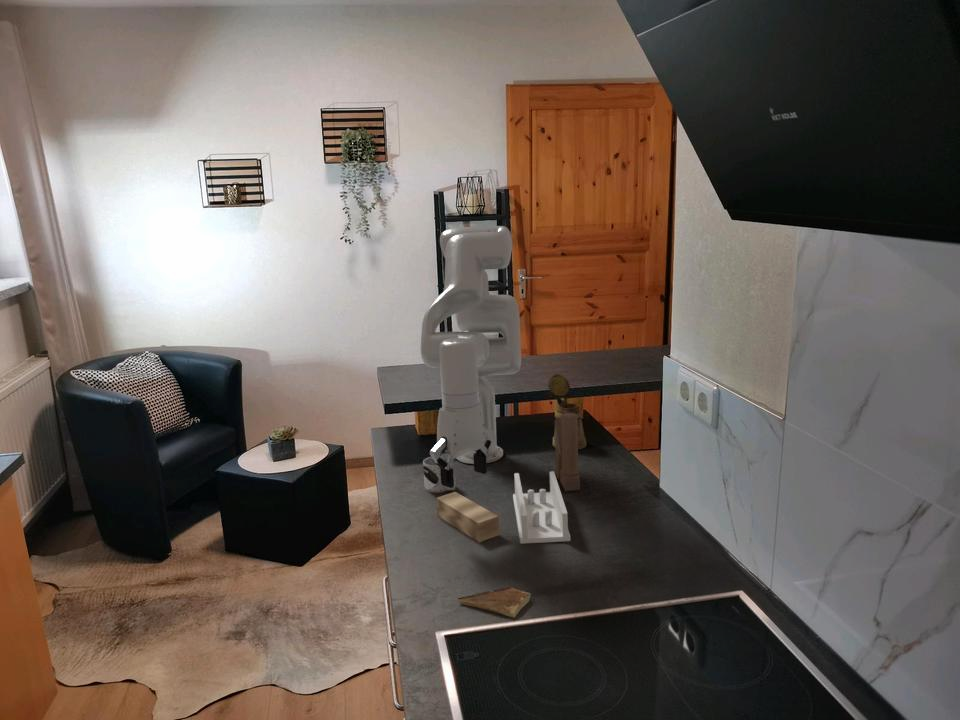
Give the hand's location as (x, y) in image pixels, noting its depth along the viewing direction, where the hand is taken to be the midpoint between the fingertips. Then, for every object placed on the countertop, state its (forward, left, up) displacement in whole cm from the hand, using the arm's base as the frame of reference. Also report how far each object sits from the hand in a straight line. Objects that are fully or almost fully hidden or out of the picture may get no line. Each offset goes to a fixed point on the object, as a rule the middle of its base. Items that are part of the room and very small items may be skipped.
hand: (464, 479), depth 155 cm
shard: (+26, -19, -11) cm, 34 cm away
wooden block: (+3, +31, -11) cm, 33 cm away
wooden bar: (0, 0, -11) cm, 11 cm away
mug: (-18, +10, -11) cm, 24 cm away
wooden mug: (-14, +53, -11) cm, 56 cm away
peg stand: (+10, +12, -11) cm, 19 cm away
